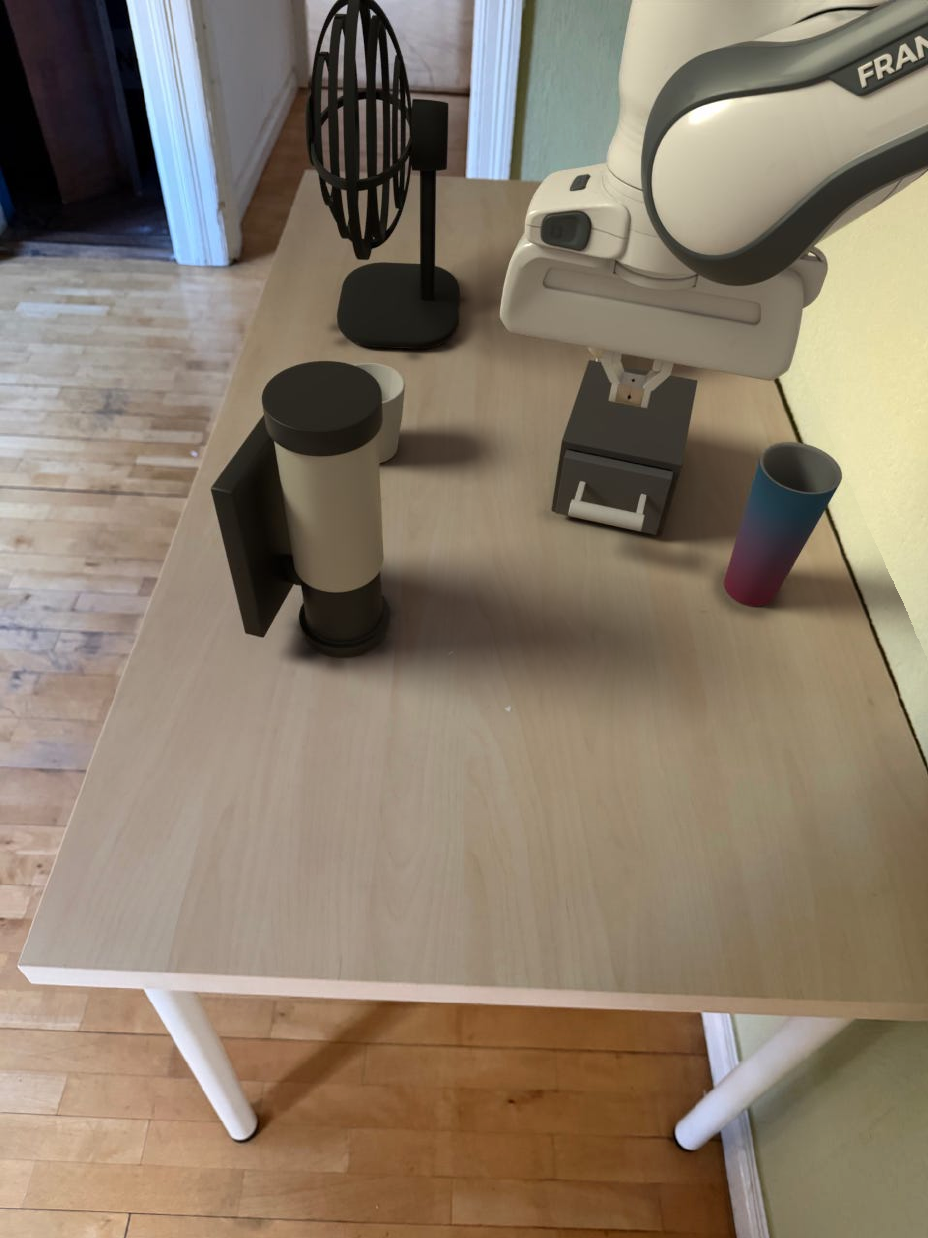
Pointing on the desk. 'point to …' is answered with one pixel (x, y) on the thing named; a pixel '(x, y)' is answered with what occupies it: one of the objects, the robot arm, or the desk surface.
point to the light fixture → (310, 508)
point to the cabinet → (630, 426)
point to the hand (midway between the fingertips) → (628, 400)
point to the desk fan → (382, 292)
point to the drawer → (613, 491)
